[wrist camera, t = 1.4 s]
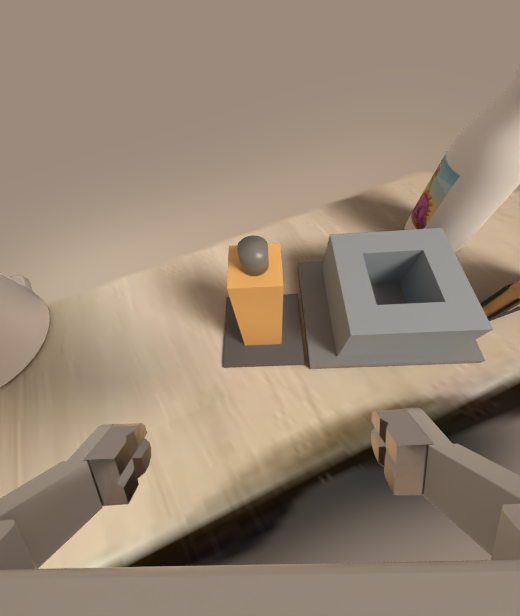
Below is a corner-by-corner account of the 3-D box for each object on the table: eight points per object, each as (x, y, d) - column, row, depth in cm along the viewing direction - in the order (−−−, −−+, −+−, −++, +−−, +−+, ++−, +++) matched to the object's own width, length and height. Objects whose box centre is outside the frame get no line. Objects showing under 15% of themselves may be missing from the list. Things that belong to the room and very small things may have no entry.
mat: (223, 367, 29) (223, 366, 28) (227, 298, 33) (226, 297, 33) (304, 364, 28) (304, 363, 28) (297, 295, 33) (297, 294, 32)
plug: (245, 345, 30) (221, 272, 17) (245, 313, 32) (224, 227, 19) (281, 344, 29) (283, 269, 17) (279, 311, 31) (280, 224, 19)
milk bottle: (471, 233, 36) (656, 28, 18) (446, 268, 33) (633, 68, 16) (417, 210, 39) (533, 12, 21) (391, 240, 36) (499, 43, 19)
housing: (309, 368, 28) (318, 347, 22) (297, 266, 35) (302, 229, 29) (479, 362, 27) (535, 338, 21) (433, 259, 34) (467, 219, 28)
